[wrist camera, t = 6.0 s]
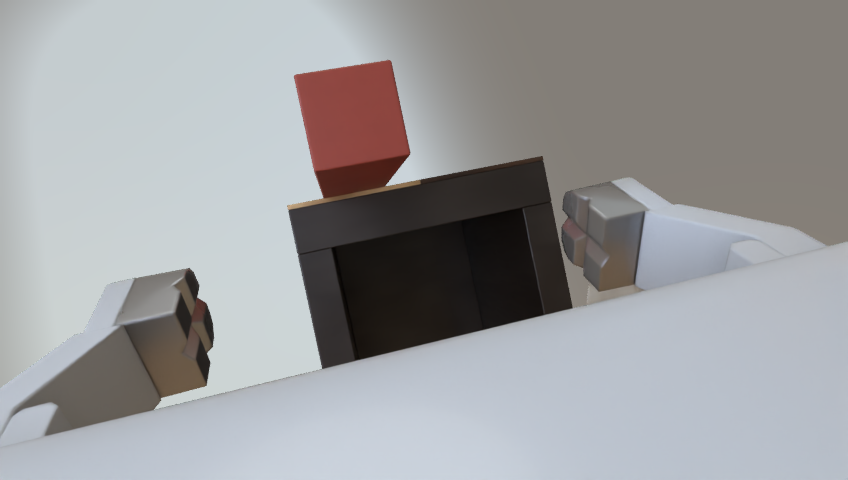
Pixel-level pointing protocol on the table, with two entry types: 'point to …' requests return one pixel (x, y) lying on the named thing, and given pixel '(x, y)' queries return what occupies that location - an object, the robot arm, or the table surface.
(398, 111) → the red block
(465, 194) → the stand
